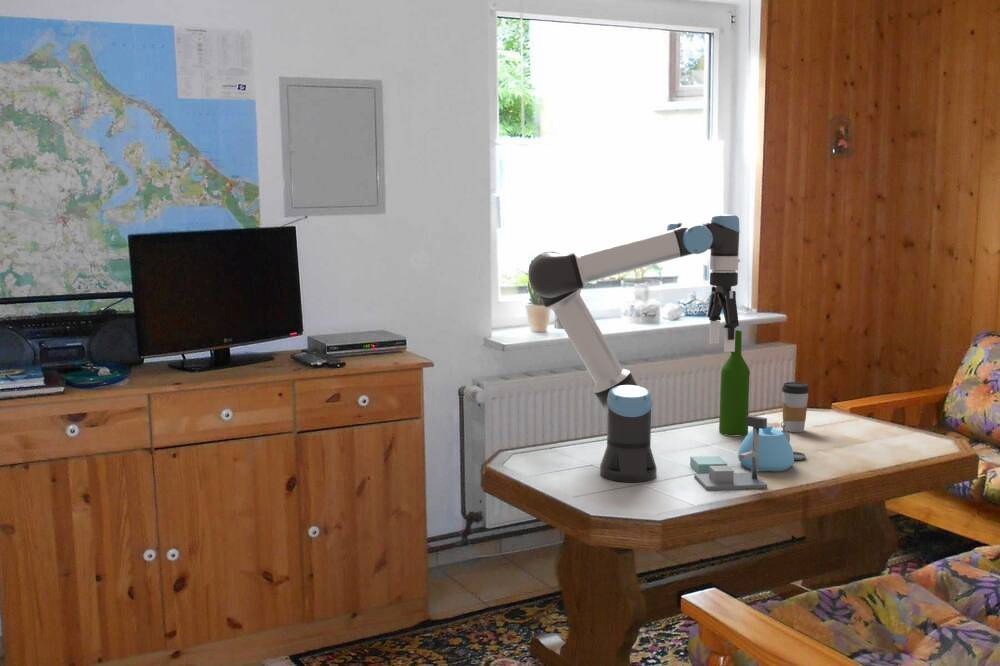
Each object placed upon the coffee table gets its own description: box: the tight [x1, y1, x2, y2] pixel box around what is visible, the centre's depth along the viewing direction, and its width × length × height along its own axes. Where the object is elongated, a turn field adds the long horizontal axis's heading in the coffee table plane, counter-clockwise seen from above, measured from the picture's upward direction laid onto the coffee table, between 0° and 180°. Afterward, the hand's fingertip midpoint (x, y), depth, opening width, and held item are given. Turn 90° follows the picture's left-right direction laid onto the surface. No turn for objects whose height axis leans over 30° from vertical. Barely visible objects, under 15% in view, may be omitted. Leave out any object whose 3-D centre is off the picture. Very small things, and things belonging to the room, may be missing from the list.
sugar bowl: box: [737, 424, 795, 472], centre depth 273 cm, size 15×15×12 cm
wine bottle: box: [718, 329, 751, 436], centre depth 308 cm, size 9×9×32 cm
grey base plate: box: [694, 465, 768, 491], centre depth 257 cm, size 16×11×4 cm
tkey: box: [738, 414, 768, 479], centre depth 255 cm, size 7×5×16 cm
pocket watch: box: [780, 421, 807, 461], centre depth 281 cm, size 8×8×10 cm
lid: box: [689, 455, 728, 474], centre depth 270 cm, size 8×8×3 cm
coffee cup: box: [781, 381, 810, 433], centre depth 312 cm, size 8×8×15 cm
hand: (721, 347), depth 273 cm, fingers open, 13 cm apart
